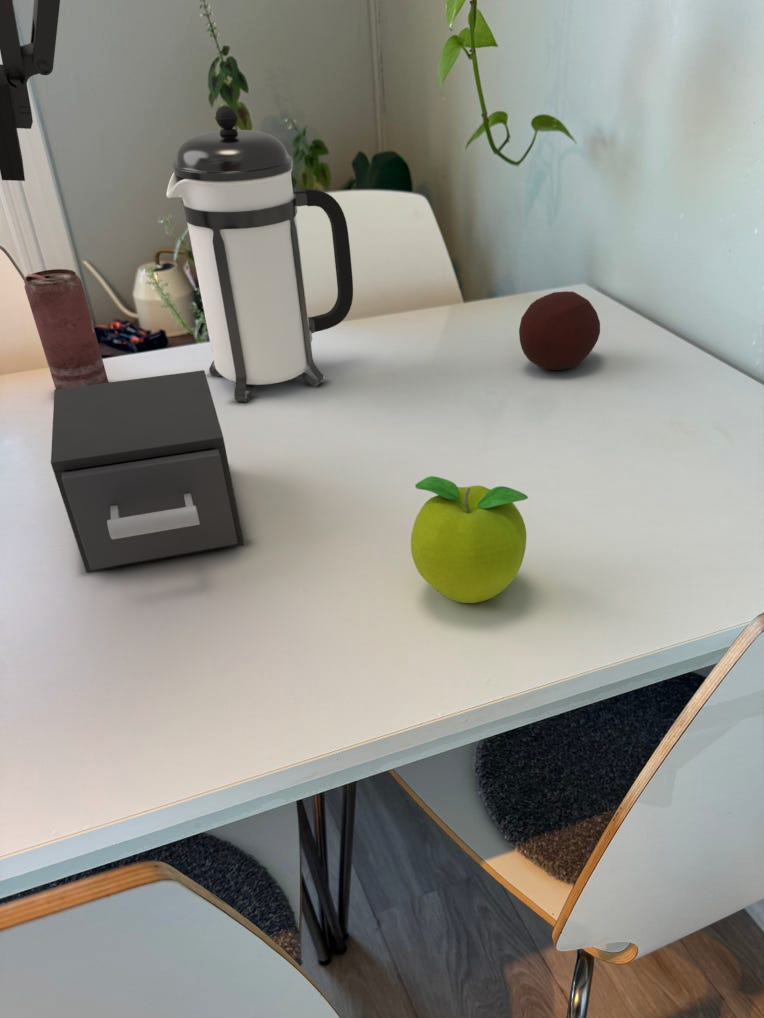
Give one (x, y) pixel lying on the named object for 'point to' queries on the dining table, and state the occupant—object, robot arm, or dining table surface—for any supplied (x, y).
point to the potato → (559, 330)
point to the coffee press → (254, 254)
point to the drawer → (151, 507)
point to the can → (65, 328)
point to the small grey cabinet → (135, 430)
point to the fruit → (468, 539)
